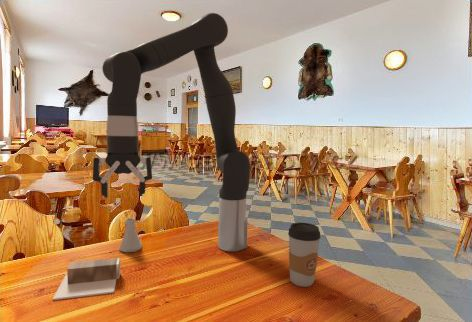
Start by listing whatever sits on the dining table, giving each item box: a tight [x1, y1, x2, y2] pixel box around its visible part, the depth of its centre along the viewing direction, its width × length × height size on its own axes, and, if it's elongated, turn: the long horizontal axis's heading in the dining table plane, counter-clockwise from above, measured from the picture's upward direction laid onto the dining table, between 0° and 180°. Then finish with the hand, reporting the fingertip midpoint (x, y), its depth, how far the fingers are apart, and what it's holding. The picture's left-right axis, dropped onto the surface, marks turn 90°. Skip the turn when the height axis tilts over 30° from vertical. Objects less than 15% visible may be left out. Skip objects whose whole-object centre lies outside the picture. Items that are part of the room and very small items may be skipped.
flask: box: [118, 217, 143, 253], centre depth 98 cm, size 7×7×10 cm
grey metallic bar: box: [66, 257, 121, 284], centre depth 78 cm, size 4×4×12 cm
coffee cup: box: [287, 222, 321, 288], centre depth 79 cm, size 8×8×15 cm
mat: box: [52, 273, 118, 301], centre depth 77 cm, size 13×16×1 cm
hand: (123, 196), depth 78 cm, fingers open, 8 cm apart
